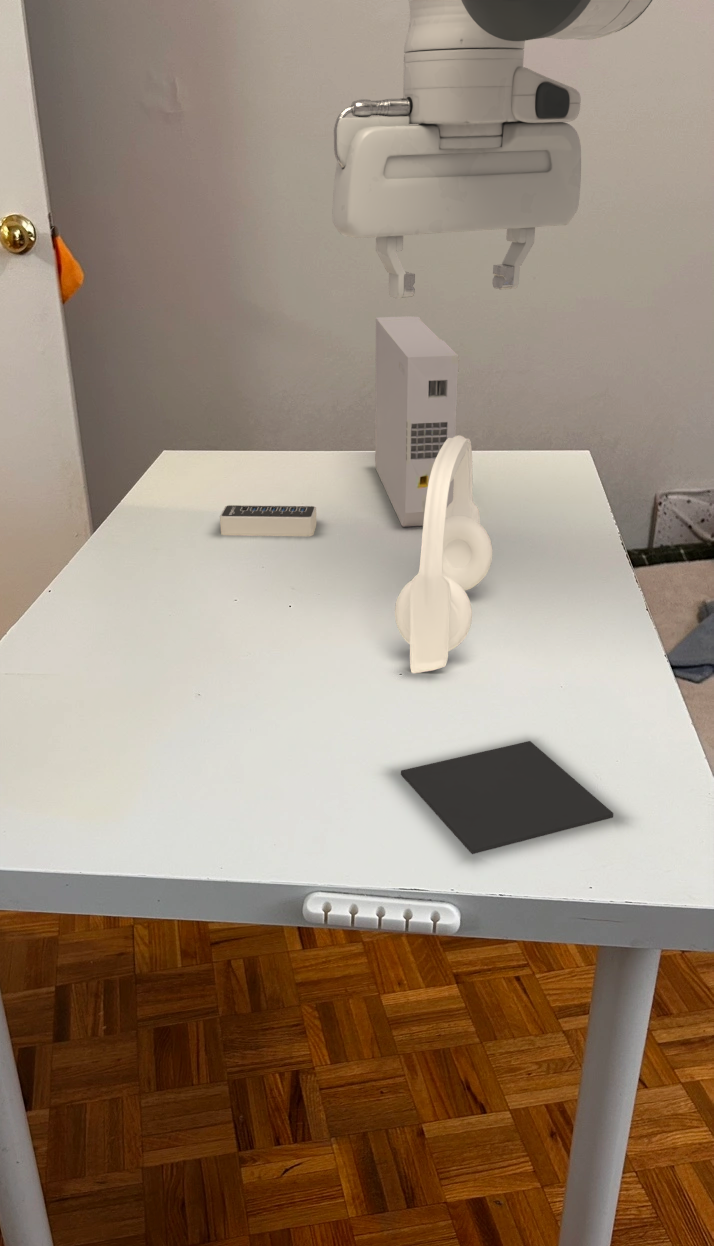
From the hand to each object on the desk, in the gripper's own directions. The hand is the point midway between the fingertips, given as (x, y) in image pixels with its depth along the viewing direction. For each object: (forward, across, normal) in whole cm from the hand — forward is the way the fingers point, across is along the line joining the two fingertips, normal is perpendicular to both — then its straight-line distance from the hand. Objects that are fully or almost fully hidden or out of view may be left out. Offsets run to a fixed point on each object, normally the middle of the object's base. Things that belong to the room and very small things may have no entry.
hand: (454, 292), depth 90 cm
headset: (+30, 0, 0) cm, 30 cm away
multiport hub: (+30, -5, +35) cm, 47 cm away
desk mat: (+30, -9, -27) cm, 41 cm away
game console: (+30, +16, +39) cm, 52 cm away
